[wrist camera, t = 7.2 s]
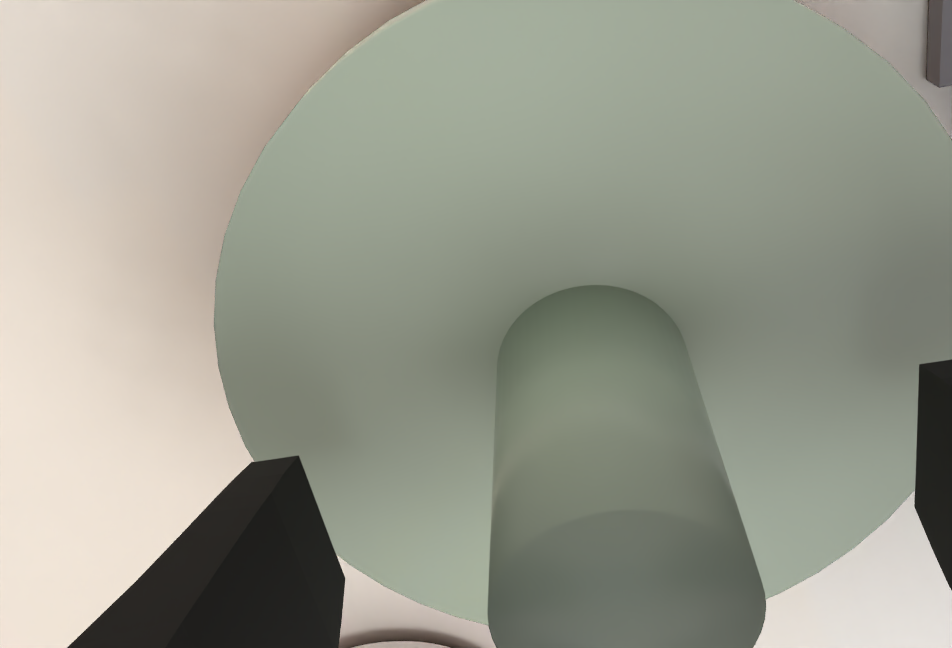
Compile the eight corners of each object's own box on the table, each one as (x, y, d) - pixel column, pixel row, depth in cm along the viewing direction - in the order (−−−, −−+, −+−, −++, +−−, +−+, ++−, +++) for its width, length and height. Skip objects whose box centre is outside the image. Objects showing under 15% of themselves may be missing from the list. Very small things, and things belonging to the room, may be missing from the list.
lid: (1013, -112, 10) (1431, -60, 5) (927, 574, 15) (1107, 903, 10) (130, 24, 11) (-139, 161, 7) (322, 620, 16) (245, 935, 11)
